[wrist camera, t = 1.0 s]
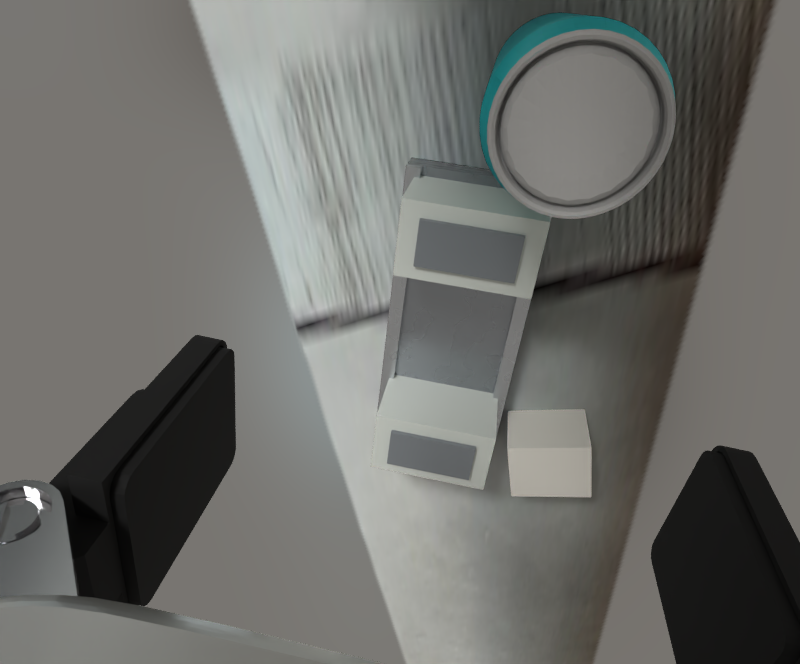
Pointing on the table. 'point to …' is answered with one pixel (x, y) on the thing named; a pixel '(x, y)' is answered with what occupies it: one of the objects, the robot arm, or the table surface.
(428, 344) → the rail
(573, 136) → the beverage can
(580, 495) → the block
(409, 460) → the block
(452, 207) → the module
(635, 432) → the table surface
